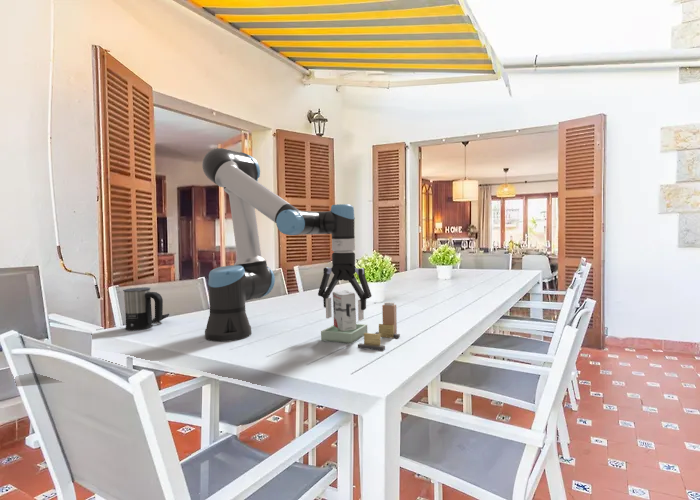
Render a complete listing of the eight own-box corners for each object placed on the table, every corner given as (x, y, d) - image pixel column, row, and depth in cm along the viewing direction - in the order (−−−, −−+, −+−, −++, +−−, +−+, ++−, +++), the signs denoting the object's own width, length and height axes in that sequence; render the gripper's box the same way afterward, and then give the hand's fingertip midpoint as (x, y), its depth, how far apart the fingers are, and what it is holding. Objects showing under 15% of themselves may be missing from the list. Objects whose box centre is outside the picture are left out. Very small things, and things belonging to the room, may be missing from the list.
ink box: (333, 326, 143) (332, 291, 143) (346, 324, 145) (345, 289, 145) (342, 331, 136) (341, 294, 135) (356, 329, 137) (356, 293, 137)
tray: (321, 340, 136) (321, 331, 136) (339, 331, 149) (339, 322, 149) (351, 343, 132) (351, 333, 132) (367, 333, 145) (367, 324, 145)
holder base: (357, 347, 127) (357, 344, 127) (376, 335, 142) (376, 332, 142) (383, 350, 124) (383, 347, 124) (399, 337, 139) (399, 334, 139)
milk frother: (121, 331, 154) (119, 290, 153) (133, 322, 169) (131, 285, 168) (163, 329, 157) (162, 289, 156) (171, 320, 172) (170, 283, 171)
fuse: (382, 335, 142) (382, 303, 141) (385, 333, 144) (384, 301, 144) (394, 336, 140) (393, 303, 140) (396, 334, 143) (396, 302, 142)
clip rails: (364, 347, 128) (364, 333, 128) (379, 336, 140) (379, 323, 140) (380, 348, 126) (379, 334, 126) (394, 337, 138) (393, 325, 138)
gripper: (306, 252, 140) (307, 318, 142) (373, 252, 131) (374, 323, 132) (317, 251, 147) (318, 314, 148) (381, 251, 138) (382, 318, 139)
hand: (344, 318), depth 140 cm, fingers open, 11 cm apart
